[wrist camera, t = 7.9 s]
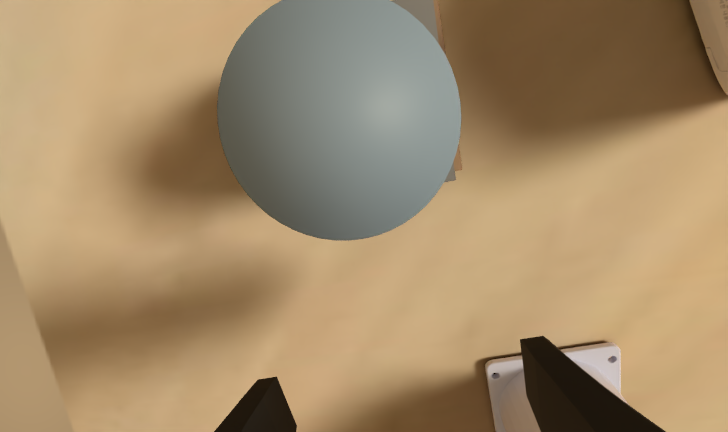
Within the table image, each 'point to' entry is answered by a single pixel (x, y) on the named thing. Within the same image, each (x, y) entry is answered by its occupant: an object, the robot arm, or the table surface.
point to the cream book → (714, 34)
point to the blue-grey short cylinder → (339, 116)
